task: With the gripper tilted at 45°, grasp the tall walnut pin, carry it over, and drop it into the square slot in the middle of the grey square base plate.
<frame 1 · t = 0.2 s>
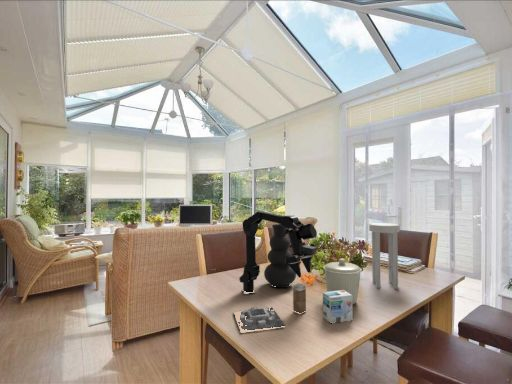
hand: (304, 274, 126), 15 cm above the table, tool tilted 15°, fingers open, 9 cm apart
canister: (342, 302, 133), on the table
stool: (384, 285, 157), on the table
vase: (280, 286, 157), on the table
grey square base plate: (257, 320, 114), on the table
light bulb box: (337, 319, 114), on the table
walnut pin: (299, 312, 121), on the table
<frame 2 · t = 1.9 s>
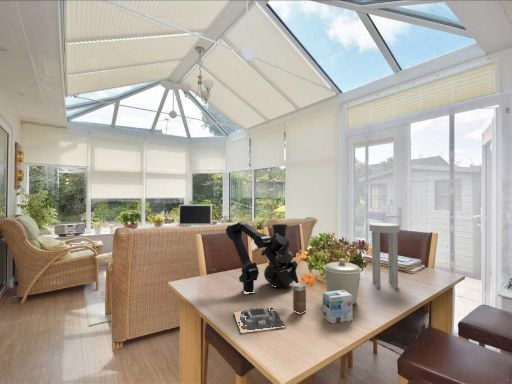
hand: (291, 285, 124), 11 cm above the table, tool tilted 45°, fingers open, 9 cm apart
nothing on the table moved.
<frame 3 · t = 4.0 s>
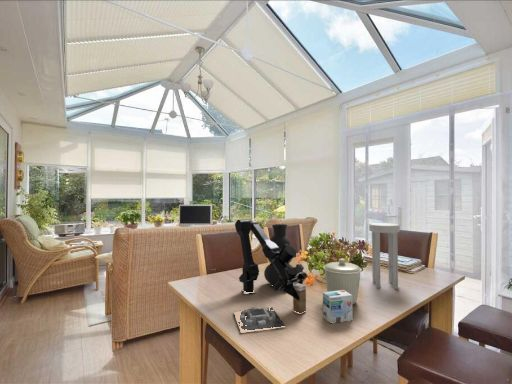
hand: (302, 298, 120), 7 cm above the table, tool tilted 45°, fingers closed on walnut pin, 4 cm apart
walnut pin: (299, 312, 121), on the table, touching gripper
everything else where it was.
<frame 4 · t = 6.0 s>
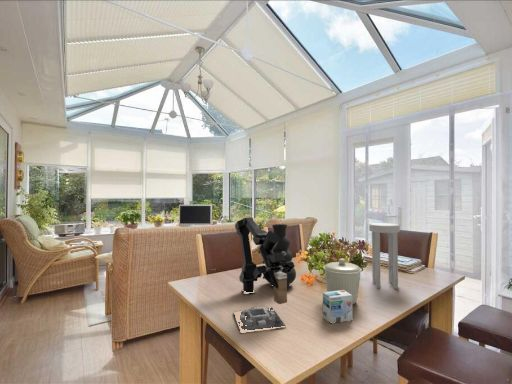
hand: (281, 287, 115), 13 cm above the table, tool tilted 45°, fingers closed on walnut pin, 4 cm apart
walnut pin: (280, 301, 116), point 7 cm above the table, touching gripper
everything else where it was.
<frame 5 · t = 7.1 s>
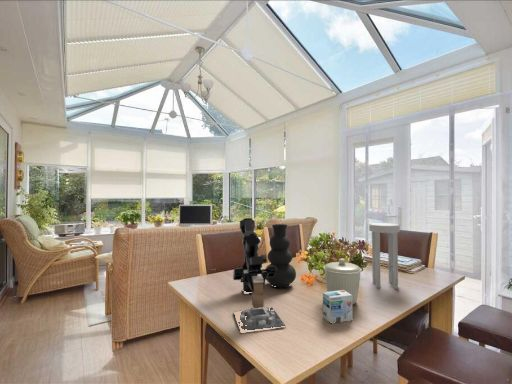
hand: (258, 291, 112), 13 cm above the table, tool tilted 45°, fingers closed on walnut pin, 4 cm apart
walnut pin: (257, 305, 114), point 6 cm above the table, touching gripper
everything else where it was.
when the fingers open (9 cm above the table, at t = 8.1 s): walnut pin drops 1 cm, resting on grey square base plate.
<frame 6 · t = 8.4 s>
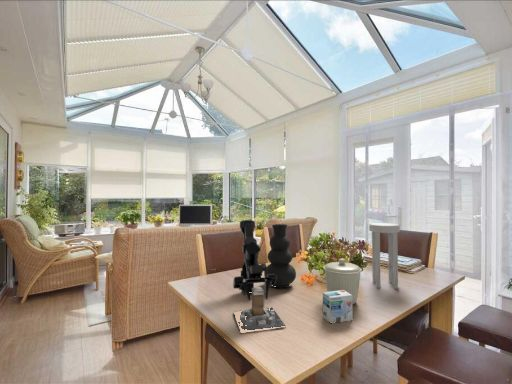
hand: (258, 299, 112), 9 cm above the table, tool tilted 45°, fingers open, 7 cm apart
walnut pin: (257, 318, 114), point 1 cm above the table, touching grey square base plate
everything else where it was.
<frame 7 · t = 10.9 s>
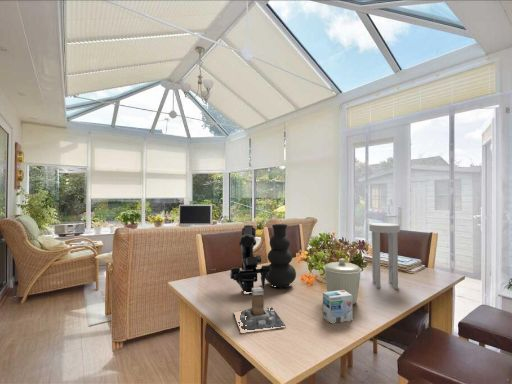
hand: (253, 289, 121), 11 cm above the table, tool tilted 45°, fingers open, 9 cm apart
nothing on the table moved.
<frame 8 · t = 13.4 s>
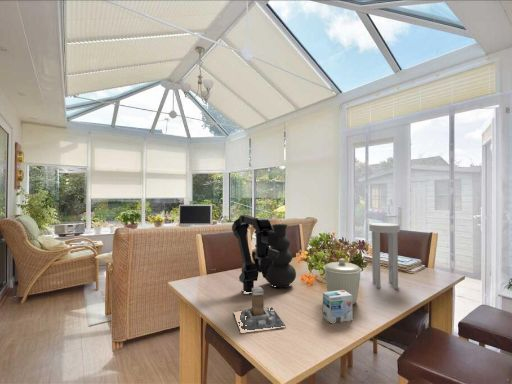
hand: (262, 275, 134), 13 cm above the table, tool pointing down, fingers open, 9 cm apart
nothing on the table moved.
at the end: walnut pin 0.0 cm off-centre on the grey square base plate, point 1.0 cm above the grey square base plate's base; walnut pin tilted 0°; the gripper is holding nothing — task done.
